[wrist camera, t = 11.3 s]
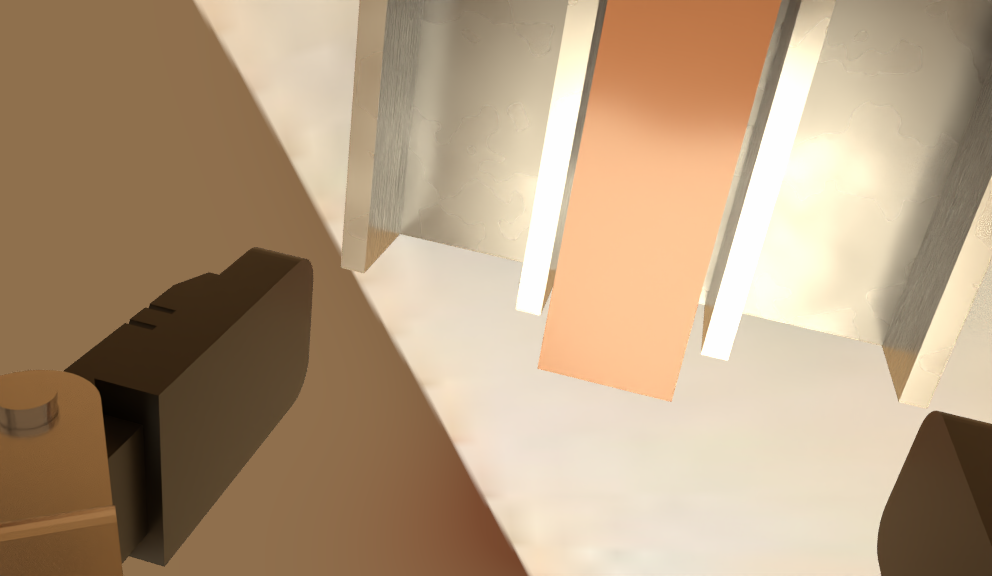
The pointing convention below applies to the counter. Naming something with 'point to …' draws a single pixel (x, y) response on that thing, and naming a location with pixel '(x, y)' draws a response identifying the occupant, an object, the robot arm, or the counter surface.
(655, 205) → the upright orange slab
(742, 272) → the dish rack
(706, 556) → the counter surface
